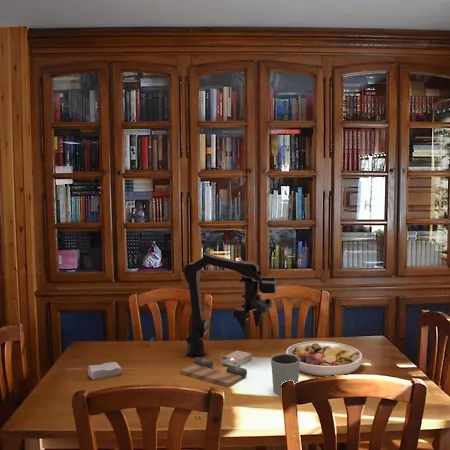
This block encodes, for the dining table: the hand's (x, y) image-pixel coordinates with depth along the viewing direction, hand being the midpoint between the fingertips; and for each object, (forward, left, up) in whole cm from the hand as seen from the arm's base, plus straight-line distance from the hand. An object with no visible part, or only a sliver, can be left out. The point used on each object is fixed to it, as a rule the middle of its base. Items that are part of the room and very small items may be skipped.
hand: (250, 329), depth 211 cm
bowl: (+28, +11, -13) cm, 32 cm away
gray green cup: (+28, -21, -13) cm, 37 cm away
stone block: (-39, -45, -13) cm, 61 cm away
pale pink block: (-2, -7, -13) cm, 15 cm away
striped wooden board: (-2, -24, -12) cm, 27 cm away
